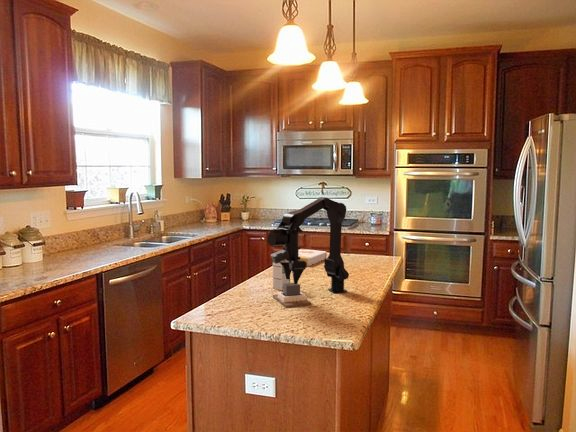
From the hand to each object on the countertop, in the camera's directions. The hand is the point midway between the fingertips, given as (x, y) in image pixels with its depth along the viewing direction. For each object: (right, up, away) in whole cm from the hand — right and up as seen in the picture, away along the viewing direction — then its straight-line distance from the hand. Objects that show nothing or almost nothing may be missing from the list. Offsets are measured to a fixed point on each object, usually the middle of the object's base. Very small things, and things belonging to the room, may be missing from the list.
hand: (291, 281), depth 192 cm
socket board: (0, -8, +1) cm, 8 cm away
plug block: (0, -7, +1) cm, 7 cm away
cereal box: (+7, -1, +86) cm, 87 cm away
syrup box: (-4, -6, +22) cm, 23 cm away
